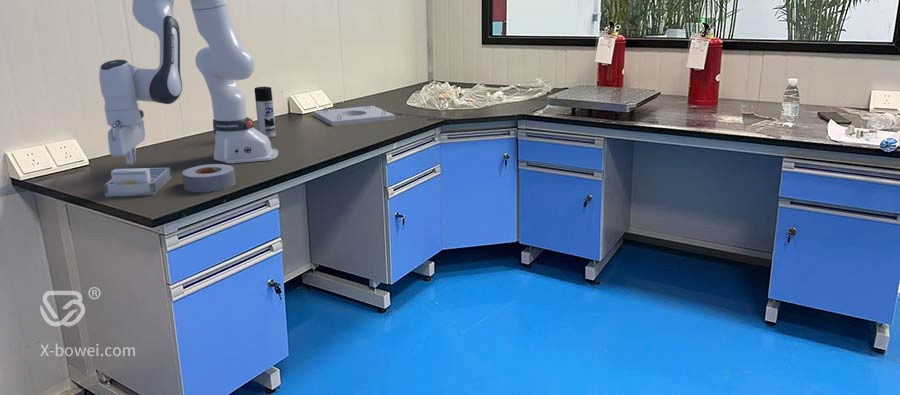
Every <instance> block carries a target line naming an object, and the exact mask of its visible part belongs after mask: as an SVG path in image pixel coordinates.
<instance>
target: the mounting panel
mask: <svg viewBox="0 0 900 395" xmlns="http://www.w3.org/2000/svg"><path fill="white" fill-rule="evenodd" d="M313 116H314V117H316V118H317V119H318V120H320V121H323V122H324V123H326V124H328V125H329V126H332V127H338V126H339V127H341V126H347V125H348V126H349V125H358V124H366V123H367V124H369V123H376V122H378V123H379V122H387V121H396V114H394V113H391V112H389V111H386V109H382V108H380V107H377V106H375V105H370V103H366V106H356V107H346V108H344V107H343V108H335V109H328V107H326V106H325V107H323V110H314V111H313Z"/></svg>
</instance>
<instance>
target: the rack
mask: <svg viewBox="0 0 900 395" xmlns="http://www.w3.org/2000/svg"><path fill="white" fill-rule="evenodd" d="M149 169H150V176H151V183H135V181H132V182H123V184H113V181H112V178H111V179H110V180H109V181H107V182H106V183H104V184H103V186H102V187H103V191H104V197H106V198H107V197H108V198H109V197H131V196H132V197H135V196H136V197H138V196H140V197H141V196H142V197H143V196H155V195H157V193H158V192H160V190H161V189H162V188H164V186H166V185H167V183H168V182H169V181H170V180H172V179H173V177H172V169H171V167H149Z"/></svg>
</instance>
